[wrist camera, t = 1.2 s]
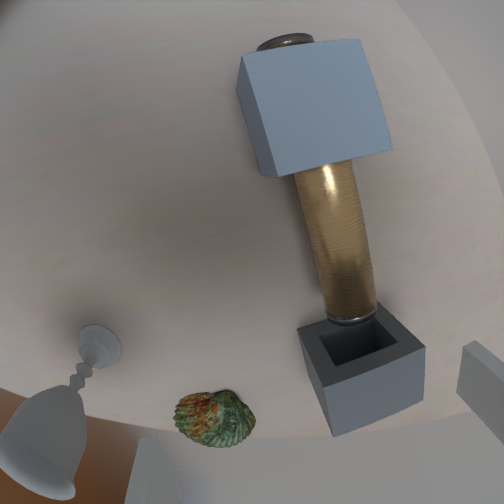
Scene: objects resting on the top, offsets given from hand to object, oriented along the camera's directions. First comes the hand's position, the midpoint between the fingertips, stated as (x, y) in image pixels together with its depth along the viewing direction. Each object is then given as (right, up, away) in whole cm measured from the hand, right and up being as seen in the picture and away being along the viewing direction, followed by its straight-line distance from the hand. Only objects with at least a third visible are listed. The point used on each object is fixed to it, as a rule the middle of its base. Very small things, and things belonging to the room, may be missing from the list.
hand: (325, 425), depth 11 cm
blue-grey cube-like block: (+1, +18, +15) cm, 24 cm away
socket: (+7, -3, +21) cm, 23 cm away
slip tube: (+2, +12, +14) cm, 19 cm away
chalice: (-19, -3, +19) cm, 27 cm away
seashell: (-7, -13, +23) cm, 28 cm away
